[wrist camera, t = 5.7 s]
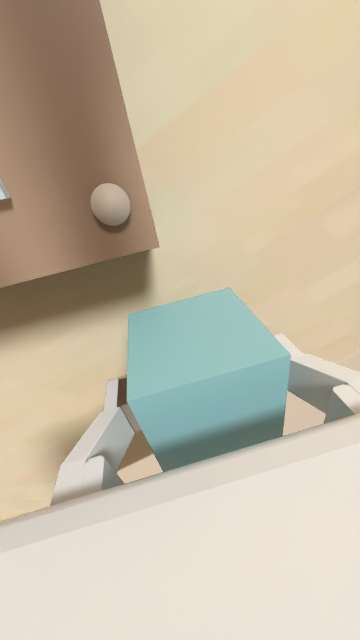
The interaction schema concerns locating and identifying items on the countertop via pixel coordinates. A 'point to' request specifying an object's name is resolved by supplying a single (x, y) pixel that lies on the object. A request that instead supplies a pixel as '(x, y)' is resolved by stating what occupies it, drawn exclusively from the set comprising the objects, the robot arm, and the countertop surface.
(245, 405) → the teal block
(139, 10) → the countertop surface
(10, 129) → the plinth
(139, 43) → the countertop surface
